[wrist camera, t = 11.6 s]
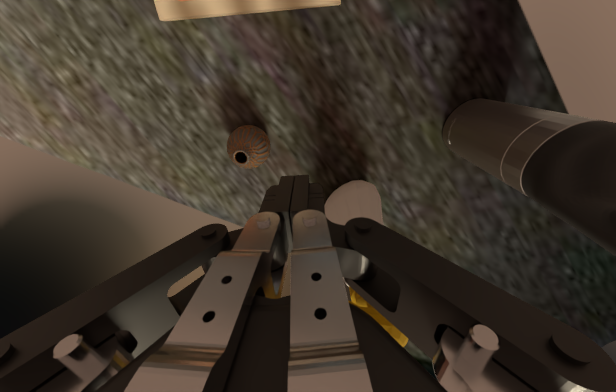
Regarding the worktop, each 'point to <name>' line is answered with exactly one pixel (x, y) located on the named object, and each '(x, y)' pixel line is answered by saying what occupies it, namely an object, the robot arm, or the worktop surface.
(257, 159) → the vase
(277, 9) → the hole board
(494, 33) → the worktop surface
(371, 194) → the soap bottle
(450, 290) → the robot arm
